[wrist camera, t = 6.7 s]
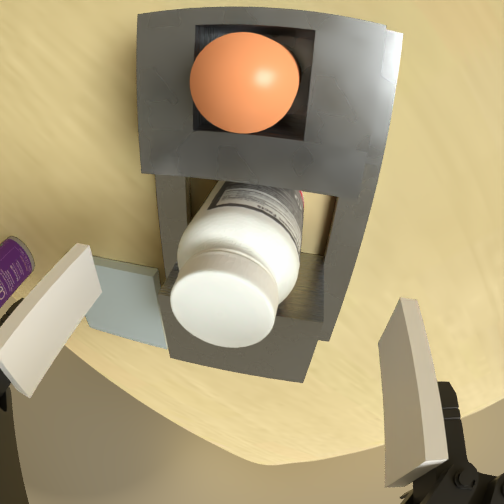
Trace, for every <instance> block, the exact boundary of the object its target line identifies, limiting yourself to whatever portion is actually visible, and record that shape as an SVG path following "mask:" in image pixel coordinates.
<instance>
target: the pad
mask: <svg viewBox="0 0 504 504" xmlns="http://www.w3.org/2000/svg"><path fill="white" fill-rule="evenodd" d="M92 257H93V261H94V265H95V268H96V272H97V276H98V279H99V283H100V286H101V290H102V293H101V294H100V296H99V297H98V298H97V300H96V301H95V302H94V304H93V305H92V306H91V308H90V309H89V311H88V312H87V313H86V315H85V317H86V319H87V322H88V324H89V326H90V327H91V328H94V329H97V330H100V331H103V332H107V333H110V334H113V335H117V336H120V337H123V338H127V339H130V340H134V341H138V342H141V343H145V344H149V345H153V346H156V347H160V348H164V349H168V344H167V340H166V335H165V330H164V325H163V320H162V315H161V310H160V304H159V299H158V292H159V291H160V289H161V285H160V278H159V272H158V269H157V268H151V267H146V266H141V265H135V264H130V263H125V262H120V261H115V260H110V259H105V258H100V257H95V256H92Z"/></svg>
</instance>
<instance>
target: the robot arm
mask: <svg viewBox="0 0 504 504" xmlns="http://www.w3.org/2000/svg"><path fill="white" fill-rule="evenodd" d="M101 293H102V290H101V286H100V283H99V279H98V276H97V272H96V268H95V265H94V261H93V257H92V253H91V249H90V245H85V244H80V243H76V244H75V245H74V246H73V247H72V248H71V249H70V250H69V251H68V252H67V253H66V254H65V255H64V256H63V257H62V258H61V259H60V260H59V261H58V262H57V264H56V265H55V266H54V267H53V268H52V269H51V270H50V271H49V272H48V273H47V274H46V275H45V276H44V277H43V278H42V279H41V281H40V282H39V283H38V284H37V285H36V286H35V287H34V288H33V289H32V290H31V292H30V293H29V294H28V295H27V296H26V297H25V298H21V299H20V300H18V301H17V302H15V303H14V304H13V305H12V306H11V307H10V308H9V309H8V311H7V312H6V314H4V315H3V317H2V318H1V319H0V504H29V502H28V498H27V495H26V490H25V486H24V482H23V477H22V473H21V468H20V462H19V457H18V451H17V444H16V438H15V430H14V421H13V411H12V398H11V390H10V388H9V387H8V386H9V385H10V383H12V384H13V386H14V387H15V388H16V389H17V391H19V392H21V393H22V394H24V395H26V396H27V397H29V398H30V397H31V396H32V394H33V392H34V391H35V389H36V387H37V386H38V384H39V383H40V381H41V380H42V378H43V376H44V375H45V373H46V372H47V370H48V368H49V367H50V366H51V364H52V362H53V361H54V359H55V358H56V356H57V355H58V353H59V352H60V350H61V349H62V347H63V346H64V345H65V343H66V342H67V340H68V339H69V337H70V336H71V334H72V333H73V332H74V330H75V329H76V327H77V326H78V324H79V323H80V322H81V320H82V319H83V317H84V316H85V315H86V313H87V312H88V311H89V309H90V308H91V306H92V305H93V304H94V302H95V301H96V300H97V298H98V297H99V296H100V294H101ZM378 347H379V357H380V367H381V379H382V392H383V408H384V431H385V487H403V486H406V485H408V484H410V483H411V482H413V489H412V490H410V491H408V492H406V493H404V494H403V495H402V496H401V497H400V498H401V499H403V498H405V499H404V500H403V501H402V503H401V504H504V473H503V474H501V475H500V476H498V477H496V476H492V475H487V474H482V473H479V472H477V469H476V468H475V467H474V466H473V465H472V464H471V463H469V462H468V460H467V455H466V448H465V441H464V434H463V428H462V423H461V420H460V417H461V416H460V411H459V409H458V407H459V406H458V401H457V396H456V393H455V391H454V389H453V388H452V386H451V384H450V383H449V382H437V379H436V374H435V369H434V364H433V360H432V355H431V351H430V347H429V342H428V338H427V334H426V330H425V327H424V323H423V319H422V315H421V312H420V308H419V305H418V301H417V300H416V299H409V298H401V297H400V299H399V301H398V303H397V305H396V307H395V310H394V312H393V314H392V316H391V318H390V320H389V322H388V324H387V326H386V328H385V330H384V332H383V334H382V336H381V338H380V340H379V342H378Z"/></svg>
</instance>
